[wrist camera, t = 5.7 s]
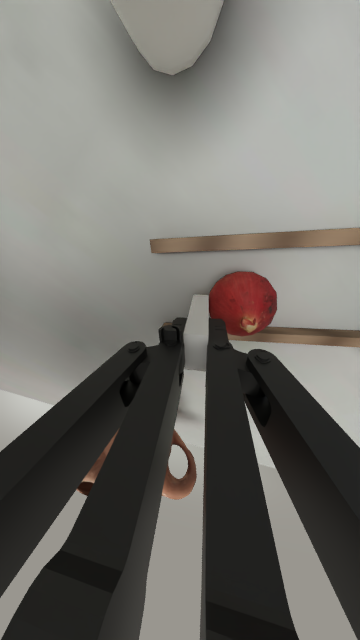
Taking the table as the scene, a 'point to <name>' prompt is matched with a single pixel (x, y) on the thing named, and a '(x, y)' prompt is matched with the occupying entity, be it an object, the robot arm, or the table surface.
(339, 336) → the walnut guide rails
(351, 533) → the robot arm
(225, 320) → the red pomegranate
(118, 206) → the table surface
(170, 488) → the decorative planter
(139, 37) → the foam cup
